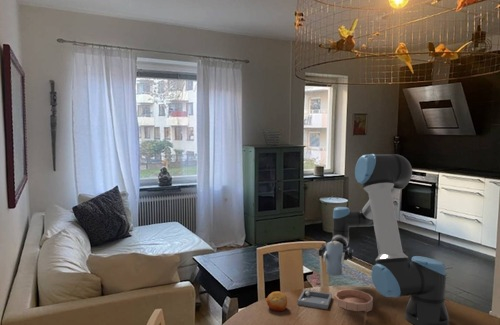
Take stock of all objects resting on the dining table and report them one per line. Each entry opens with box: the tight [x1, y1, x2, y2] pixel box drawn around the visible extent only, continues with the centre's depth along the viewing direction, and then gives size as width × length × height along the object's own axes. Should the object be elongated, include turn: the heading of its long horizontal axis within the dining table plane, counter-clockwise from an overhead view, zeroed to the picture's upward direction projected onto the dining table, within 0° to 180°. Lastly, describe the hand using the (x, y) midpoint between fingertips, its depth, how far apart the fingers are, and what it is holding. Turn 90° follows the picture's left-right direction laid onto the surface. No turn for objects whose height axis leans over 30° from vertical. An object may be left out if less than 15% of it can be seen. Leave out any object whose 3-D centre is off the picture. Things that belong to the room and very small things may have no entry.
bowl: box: [333, 288, 374, 313], centre depth 157 cm, size 15×15×4 cm
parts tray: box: [297, 289, 333, 310], centre depth 158 cm, size 12×12×3 cm
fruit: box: [266, 290, 288, 312], centre depth 151 cm, size 8×8×8 cm
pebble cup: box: [325, 241, 343, 276], centre depth 157 cm, size 6×6×13 cm
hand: (333, 259), depth 152 cm, fingers closed on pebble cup, 6 cm apart
